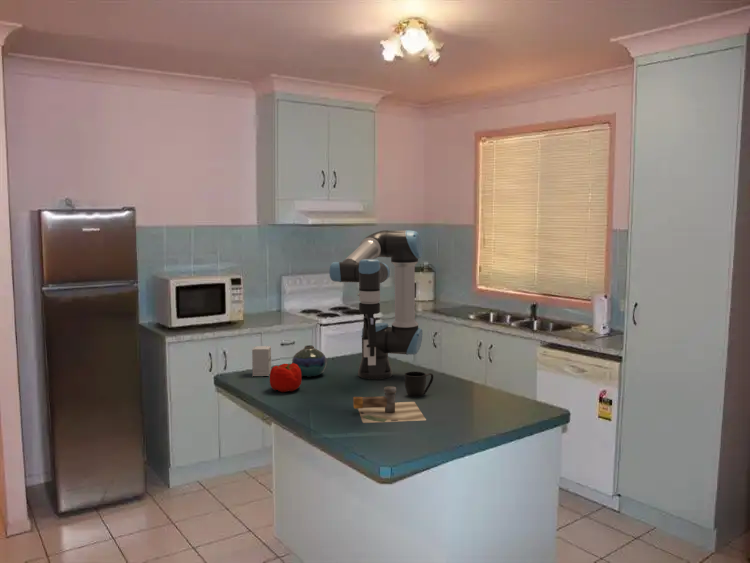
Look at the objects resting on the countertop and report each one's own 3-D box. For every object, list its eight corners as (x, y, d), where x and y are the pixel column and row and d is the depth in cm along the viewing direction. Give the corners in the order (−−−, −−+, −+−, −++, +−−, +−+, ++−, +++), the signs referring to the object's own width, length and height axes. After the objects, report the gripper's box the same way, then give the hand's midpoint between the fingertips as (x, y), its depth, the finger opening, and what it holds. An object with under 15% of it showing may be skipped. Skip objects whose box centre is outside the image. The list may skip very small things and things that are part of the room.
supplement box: (268, 377, 283) (268, 349, 282) (252, 377, 283) (251, 349, 282) (271, 373, 290) (271, 345, 289) (255, 373, 290) (254, 345, 289)
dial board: (356, 407, 239) (356, 403, 239) (414, 404, 242) (414, 401, 242) (362, 426, 217) (362, 422, 217) (426, 423, 220) (426, 419, 220)
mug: (438, 398, 251) (438, 374, 250) (410, 401, 246) (410, 377, 245) (428, 392, 258) (428, 369, 257) (401, 396, 254) (401, 372, 253)
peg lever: (395, 408, 232) (395, 386, 231) (397, 412, 228) (397, 389, 227) (353, 410, 230) (353, 387, 229) (354, 414, 226) (354, 391, 225)
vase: (297, 370, 295) (296, 342, 294) (329, 371, 293) (329, 343, 291) (288, 379, 280) (287, 349, 278) (322, 380, 278) (322, 350, 276)
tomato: (281, 396, 253) (280, 370, 252) (263, 389, 263) (263, 364, 262) (309, 390, 262) (309, 365, 261) (291, 384, 272) (291, 359, 271)
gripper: (355, 298, 242) (355, 354, 244) (363, 307, 218) (363, 369, 220) (375, 297, 243) (375, 353, 245) (384, 306, 219) (384, 368, 221)
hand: (369, 360), depth 233 cm, fingers open, 12 cm apart
